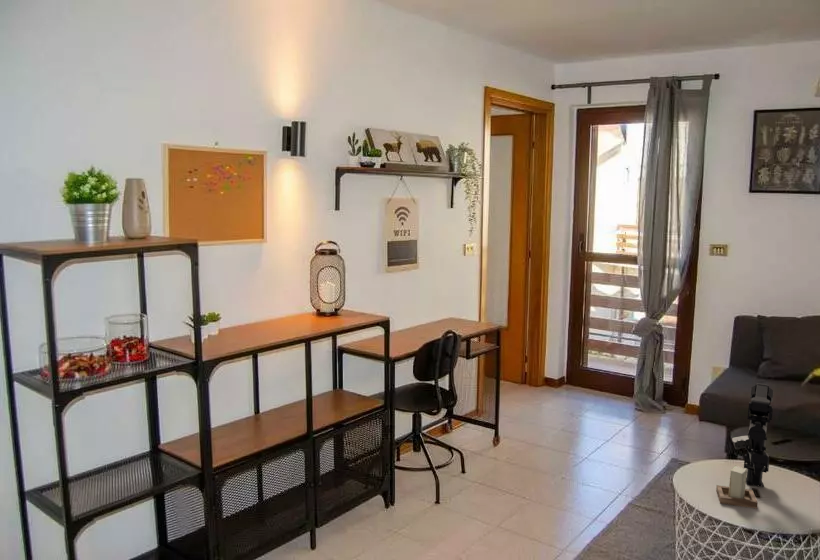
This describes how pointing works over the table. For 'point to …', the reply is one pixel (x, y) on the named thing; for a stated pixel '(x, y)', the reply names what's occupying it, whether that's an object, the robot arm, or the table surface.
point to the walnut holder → (747, 501)
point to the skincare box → (737, 482)
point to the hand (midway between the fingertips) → (754, 470)
